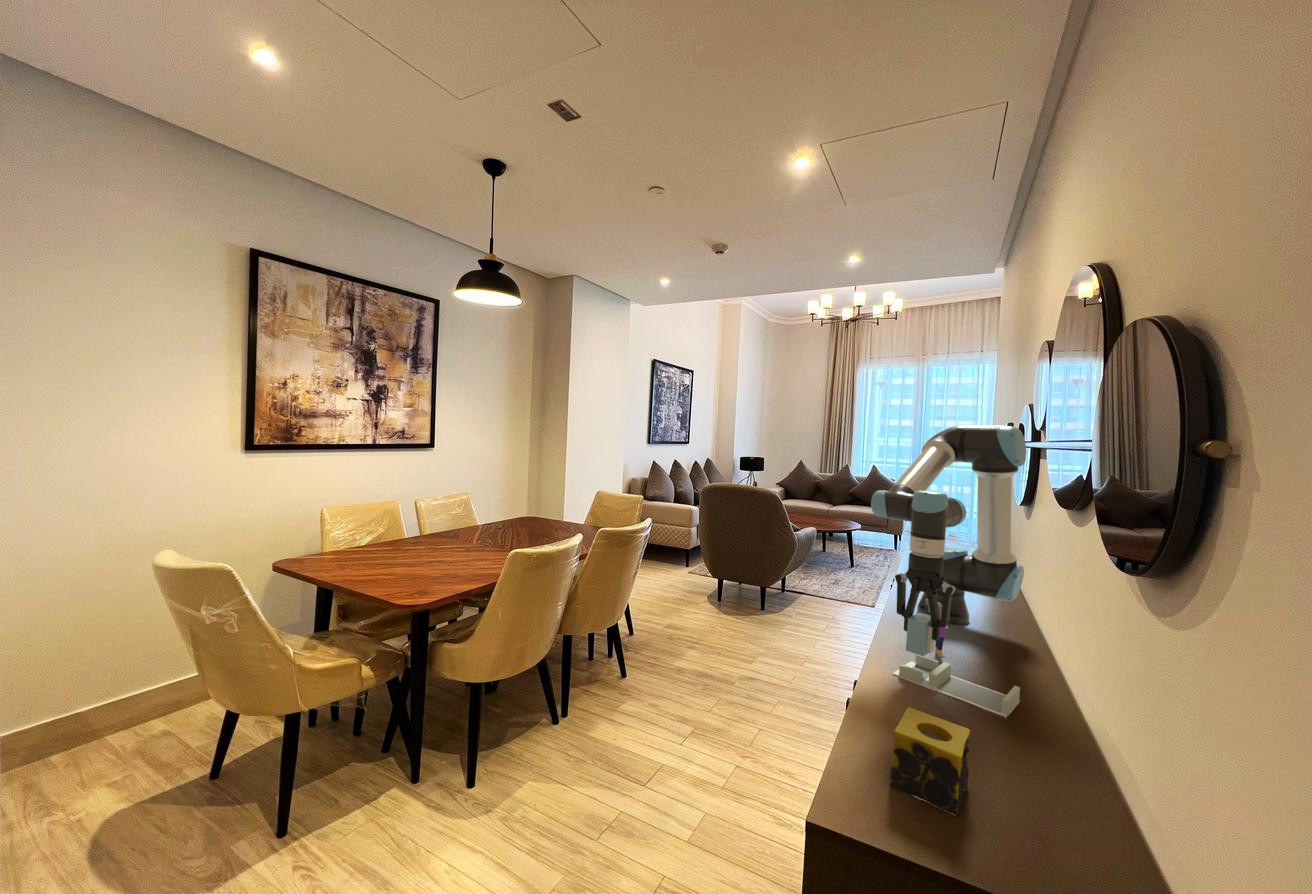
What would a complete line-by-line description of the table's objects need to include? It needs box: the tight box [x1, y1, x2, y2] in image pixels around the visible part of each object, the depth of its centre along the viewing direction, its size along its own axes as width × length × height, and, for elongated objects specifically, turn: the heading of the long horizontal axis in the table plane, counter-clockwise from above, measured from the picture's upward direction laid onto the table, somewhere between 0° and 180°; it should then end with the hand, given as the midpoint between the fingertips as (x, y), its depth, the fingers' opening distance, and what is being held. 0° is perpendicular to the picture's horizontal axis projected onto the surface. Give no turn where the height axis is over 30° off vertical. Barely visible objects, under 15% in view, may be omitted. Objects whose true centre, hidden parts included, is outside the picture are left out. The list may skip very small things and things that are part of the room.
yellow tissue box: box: [889, 706, 971, 816], centre depth 83 cm, size 10×10×10 cm
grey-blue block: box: [905, 613, 932, 657], centre depth 123 cm, size 7×4×8 cm, turn 132°
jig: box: [892, 654, 1021, 719], centre depth 118 cm, size 11×24×4 cm, turn 42°
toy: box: [925, 599, 949, 658], centre depth 136 cm, size 10×6×15 cm, turn 168°
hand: (920, 648), depth 123 cm, fingers closed on grey-blue block, 4 cm apart
